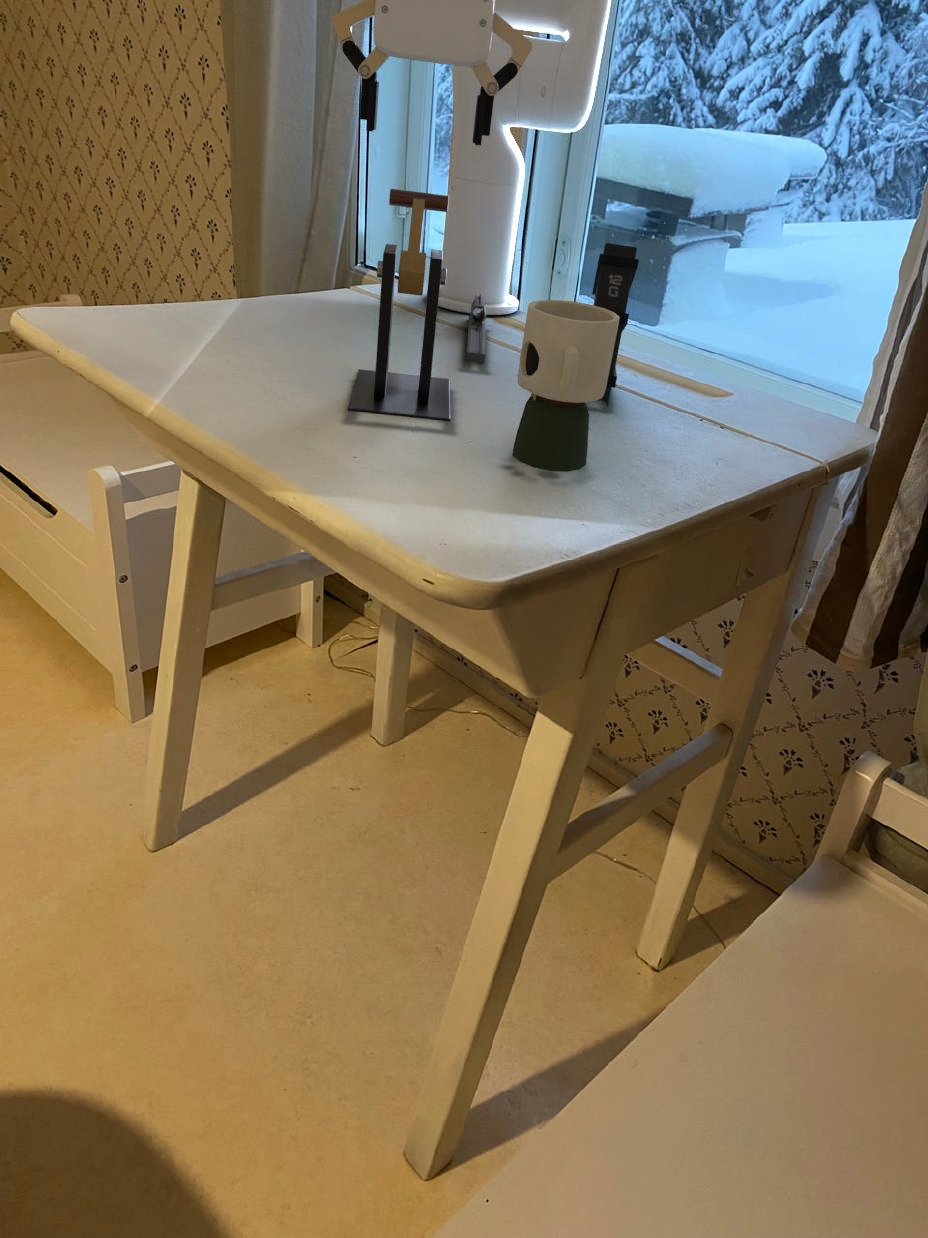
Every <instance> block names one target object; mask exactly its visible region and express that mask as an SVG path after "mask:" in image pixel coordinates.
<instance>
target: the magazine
mask: <svg viewBox="0 0 928 1238" xmlns="http://www.w3.org/2000/svg"><path fill="white" fill-rule="evenodd" d="M603 247H604V248H603V252H602V253H600V254H599V256H598V260H597V267H596V270H595V271H596V272H595V276H594V281H593V286H592V292H591V295H594V299H593V304H592V305H594V306H597V307H601V308H604V309H607V310H609V311H612V312H614V313H616V314H617V315H618V316H619V317H620V318H619V325H618V330H617V335H616V340H615V345H614V350H613V355H612V360H611V365H610V370H609V375H608V380H607V386H606V389H605V393H604V395H603V397H602V399H599V400H598V401H601V402H604V403H605V406H606V407H607V408H608V406H609V401H610V398H611V397H610V396H611V391H612V388H616V385H617V380H618V375H617V368H616V367H617V366H616V365H617V360H618V356H619V350H620V344H621V340H622V339H621V338H622V335H623V332H624V330H625V328H626V327H627V326H628V323H629V317H630V313H627V307H628V301H629V296H630V291H631V288H632V285H633V282H634V280H635V277H636V273H637V271H638V267H639V264H640V263H639V262H640V259H638V258H636V257H637V253H638V252H637V251H638V248H637V247H636V246H630V245H622V244H617V243H610V242H608V243H607V242H606V243H605V244H604V246H603Z"/></svg>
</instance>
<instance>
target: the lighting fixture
mask: <svg viewBox="0 0 928 1238" xmlns="http://www.w3.org/2000/svg"><path fill="white" fill-rule="evenodd" d="M475 308H479V309H483V310H482V311H481V312H480V313H476V312H474V309H475ZM486 318H487V315H486V306H485V302H484V297H481V294H480V296H475V299H474V301H473V303H472V305H471V312H470V313H468V332H467V333H468V334H467V346H466V355H465V362H468V363H477V364H486V357H487V356H486Z"/></svg>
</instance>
